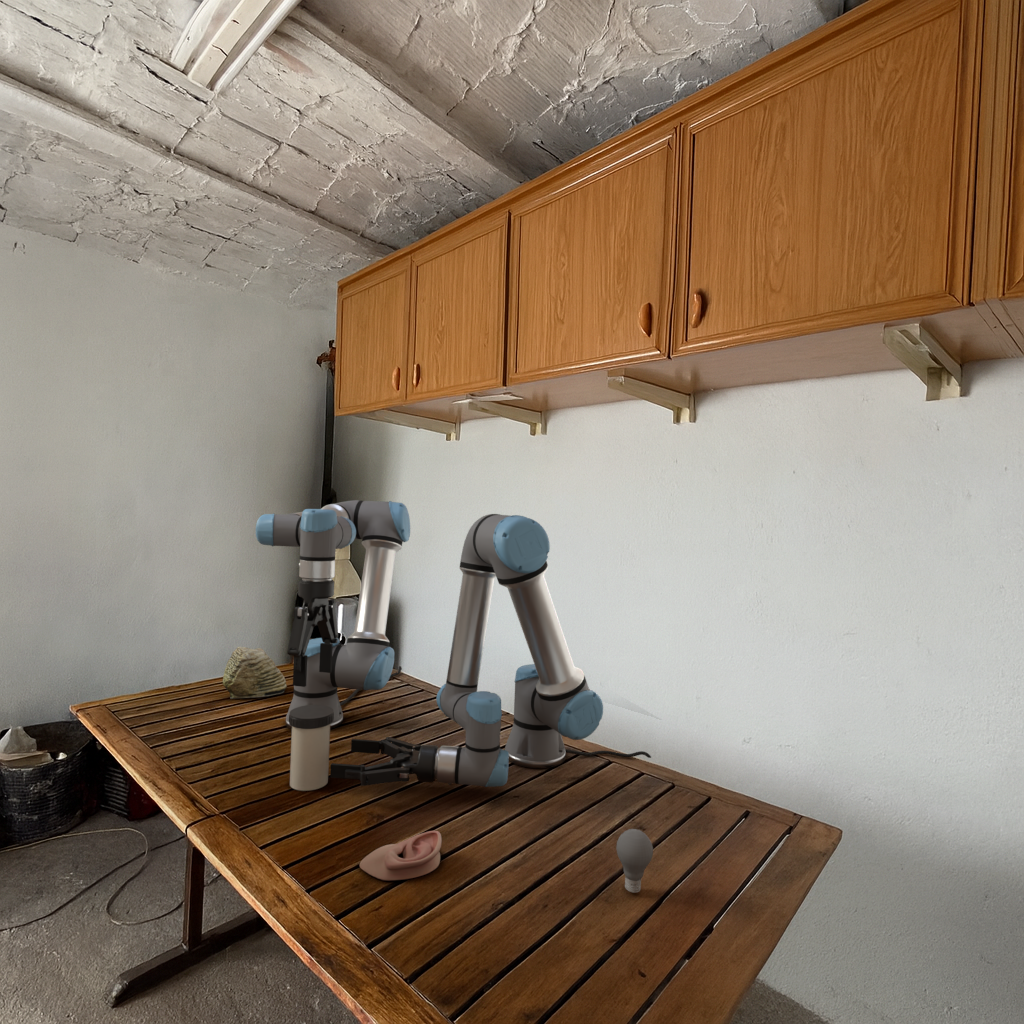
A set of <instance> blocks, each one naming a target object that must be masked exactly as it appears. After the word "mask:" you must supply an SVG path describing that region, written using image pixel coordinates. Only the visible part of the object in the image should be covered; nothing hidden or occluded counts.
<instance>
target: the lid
mask: <svg viewBox="0 0 1024 1024" xmlns="http://www.w3.org/2000/svg"><path fill="white" fill-rule="evenodd" d="M333 719H334V712H333V709H332V708H331V707H329V706H324V705H305V706H300V707H297V708H294V709H292V710H291V711H290V715H289V724H290V725H291V726H293V727H296V728H301V729H314V728H321V727H324V726H327V725H329V724H331V723H332V722H333Z"/></svg>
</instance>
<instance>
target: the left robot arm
mask: <svg viewBox="0 0 1024 1024" xmlns="http://www.w3.org/2000/svg"><path fill="white" fill-rule="evenodd" d="M410 537H411V520H410V514H409V510H408V508H407V506H406V505H405V504H404V503H403V502H400V501H399V502H397V501H391V500H389V501H385V500H383V501H382V500H380V501H379V500H359V499H353V500H346V501H341V502H336V503H330V504H326V505H324V506H322V507H321V508H305V509H303V511H298V512H291V513H283V514H282V513H281V514H280V513H279V514H278V513H264V514H262V515H260V516H259V517H258V519H257V521H256V524H255V538H256V540H257V541H258V543H259V544H260V545H262V546H271V547H293V548H299V563H298V567H299V569H298V570H299V572H298V576H299V578H300V579H299V581H298V591H297V595H298V597H299V598H302V599H303V602H302V606H295V607H294V613H293V623H292V628H291V632H290V636H289V642H288V646H287V652H286V653H287V655H288V656H293V667H292V668H293V669H292V686H293V695H292V696H293V697H292V699H291V702H290V704H289V708H288V711H287V713H286V715H285V726H286V728H287V729H289V730H292V726H291V725H290V724H289V715H290V711H291V710H292V709H294V708H297V707H300V706H305V705H324V706H329V707H331V708H332V709H333V712H334V719H333V722H332V723H331V724H330V730H332V729H335V728H337V727H339V726H340V725H342V723H343V722H344V714H343V709H342V706H343V705H345V704H347V703H348V702H350V701H351V700H352V699H353V698H354V697H355V696H356V695H357V693H358V692H360V691H361V690H364V691H379V690H382V689H383V688H384V687H385V686H386V685H387V684H388V682H389V680H390V678H393V677H396V676H398V675H400V673H401V672H402V670H403V668H402V666H401V665H399V666H398V670H397V671H396V672H393V670H394V664H395V650H394V648H393V647H391V646H390V640H389V639H388V637H387V636H386V632H387V631H386V630H387V622H388V615H389V607H390V599H391V593H392V585H393V577H394V571H395V570H394V569H395V562H396V554H397V553H398V552H400V551H401V550H402V549H403V543H406V542H408V541H409V540H410ZM355 540H361V546H363V548H364V549H365V556H364V562H363V568H362V569H363V570H362V577H361V583H360V590H359V597H358V602H357V603H358V604H357V608H356V609H357V611H356V617H355V624H354V631H353V632H352V633H351V634H350V635H349V636H348V637H347V640H346V644H341V641H340V639H339V629H338V622H337V614H336V613H337V612H336V599H335V598H333V597H334V595H335V581H334V578H335V577H336V552H337V551H336V550H338V549H339V550H341V549H345V548H346V547H348V546H349V545H351V544H352V543H353V542H354V541H355ZM315 627H317V629H318V631H319V634H320V637H316V638H312V639H311V637H312V634H313V630H314V628H315ZM397 672H398V673H397ZM338 688H340V689H354V691H353V692H352V693H351V694H350V695H349V696H348V697H346V699H345V700H343V701H341V702H340V699H339V695H338Z"/></svg>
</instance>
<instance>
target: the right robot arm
mask: <svg viewBox="0 0 1024 1024" xmlns="http://www.w3.org/2000/svg"><path fill="white" fill-rule="evenodd" d="M549 538H550V537H549V535H548V534H547V531H546V530H545V528H544V527H543V526H542V525H541V524H540V522H538V521H536V520H534V519H533V518H530V517H527V516H523V515H520V514H519V515H518V514H513V515H508V514H500V513H489V514H485V515H483V516H481V517H480V518H478V519H476V520H475V521H474V523H472V525H471V526H470V527H469V529H468V532H467V533H466V536H465V539H464V542H463V546H462V551H461V555H460V560H459V561H460V562H459V570H460V571H461V573H462V577H461V584H460V589H459V590H460V591H459V597H458V602H457V610H456V615H455V622H454V628H453V635H452V642H451V649H450V655H449V661H448V668H447V673H446V674H447V675H446V681H445V683H444V684H443V685H442V686H441V687H440V688H439V690H438V691H437V693H436V700H435V701H436V705H437V707H438V709H439V710H440V711H441V712H442V714H444V715H445V717H447V718H448V719H451V720H452V721H453V722H455V723H456V724H457V725H458V726H459V727H461V728H462V729H463V730H464V731H465V742H464V747H463V746H456V745H455V746H454V745H441V746H440V747H439V746H438V745H435V744H417V743H412V742H408V741H405V740H400V739H397V738H394V737H391V736H387V737H385V739H380V740H376V739H375V740H373V739H358V738H352V739H351V740H350V741H351V742H350V752H351V753H360V754H361V753H364V754H377V755H379V754H380V756H381V755H386V756H388V757H390V758H391V759H390V760H389V761H386V762H382V763H377V764H373V765H370V766H369V765H368V766H366V765H364V764H349V763H337V762H336V763H334V762H332V763H331V764H330V773H329V774H330V775H329V776H330V777H329V778H331V779H346V780H358V781H360V786H362V787H366V786H374V785H383V784H388V783H396V782H409V781H410V775H416V779H417V781H418V782H420V783H421V782H422V783H435V782H437V783H438V784H447V785H448V786H451V785H467V786H468V785H469V786H478V787H479V786H480V787H484V788H489V787H491V788H496V787H498V788H499V787H504V786H505V785H506V784H507V782H508V778H509V763H512V764H514V765H516V766H520V767H524V768H527V769H549V768H554V767H558V766H560V765H561V764H563V763H564V762H565V760H566V754H573V755H577V756H581V757H592V756H597V755H611V756H615V757H620V758H633V757H637V756H645V757H647V759H651V758H652V756H651V754H649V753H648V752H646V751H644V750H643V751H642V750H641V751H636V752H632V753H623V752H617V751H611V750H595V751H590V752H584V751H578V750H575V749H567V748H566V747H565V742H564V740H563V737H564V738H568V739H570V740H574V741H580V740H585V739H586V738H588V737H590V736H591V735H592V734H593V733H595V731H596V730H597V728H598V727H599V725H600V722H601V720H602V719H603V715H604V704H603V703H604V702H603V700H602V698H601V696H600V695H599V694H598V693H597V692H596V691H594V690H592V689H590V687H589V684H588V681H587V679H586V676H585V673H584V671H583V669H582V668H580V667H577V666H575V664H574V661H573V658H572V654H571V652H570V649H569V646H568V643H567V640H566V637H565V634H564V631H563V628H562V625H561V622H560V619H559V617H558V613H557V610H556V607H555V604H554V601H553V599H552V598H553V597H552V595H551V592H550V590H549V589H550V588H549V587H548V583H547V580H546V577H545V575H546V572H547V571H548V569H549V565H548V562H547V560H548V559H549V555H548V554H549V553H550V550H551V549H550V548H551V544H550V539H549ZM495 579H496V580H497V583H498V584H499V585H500V586H502V587H505V588H507V590H508V593H509V596H510V599H511V602H512V605H513V608H514V610H515V613H516V616H517V619H518V621H519V624H520V627H521V630H522V633H523V636H524V639H525V641H526V644H527V647H528V650H529V654H530V656H531V659H532V662H533V663H531V664H524V665H521V666H519V667H518V668H517V669H516V671H515V677H514V700H513V701H514V704H513V706H514V707H513V725H512V727H511V729H510V733H509V735H508V737H507V741H506V743H505V747H504V749H503V748H501V729H502V717H503V712H502V699H501V696H500V695H498V694H497V693H495V692H491V691H489V690H479V691H478V685H479V680H480V679H479V678H480V673H481V666H482V660H483V655H484V649H485V648H484V647H485V642H486V641H485V640H486V635H487V628H488V622H489V616H490V609H491V603H492V597H493V590H494V584H495ZM616 752H617V753H616Z"/></svg>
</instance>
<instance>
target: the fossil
mask: <svg viewBox="0 0 1024 1024" xmlns="http://www.w3.org/2000/svg"><path fill="white" fill-rule="evenodd" d="M222 676H223V677H222V685H223V687H224V688H225V690H226V691H228V693H229V698H230V699H250V698H264V697H271V696H275V695H281V694H284V693H285V691H286V689H287V687H288V686H287V680H286V678H285V676H284V674H283V673H282V672H281V669H279V668H278V667H277V665H276V663H275V662H274V660H273V659H272V658H271V657H270V656H269V655H268V654H267V653H266V652H265V650H264V649H263V648H260V647H258V648H251V647H247V646H246V647H245V646H238V647H237V648H236V649H235V650H233V651H232V653H231V656H230V657H229V659H228V660H227V663H226V666H225V668H224V671H223V675H222Z"/></svg>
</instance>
